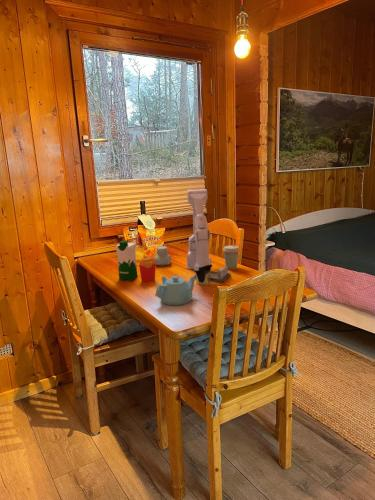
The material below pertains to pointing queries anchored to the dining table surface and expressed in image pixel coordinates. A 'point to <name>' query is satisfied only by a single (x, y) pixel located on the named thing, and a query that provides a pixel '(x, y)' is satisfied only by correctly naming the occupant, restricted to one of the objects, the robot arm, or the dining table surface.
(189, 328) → the dining table surface
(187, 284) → the teapot
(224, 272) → the free jaw
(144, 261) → the french fries
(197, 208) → the robot arm
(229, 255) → the coffee cup
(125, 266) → the milk carton
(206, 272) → the brass block
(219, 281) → the vise base
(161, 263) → the air freshener
